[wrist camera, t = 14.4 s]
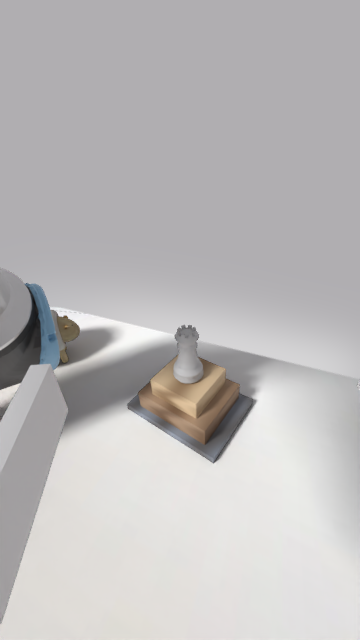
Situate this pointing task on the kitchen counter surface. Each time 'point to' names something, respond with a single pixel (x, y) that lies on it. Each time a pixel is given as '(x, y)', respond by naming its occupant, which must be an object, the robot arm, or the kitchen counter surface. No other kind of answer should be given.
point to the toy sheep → (64, 332)
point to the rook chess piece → (187, 356)
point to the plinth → (193, 408)
